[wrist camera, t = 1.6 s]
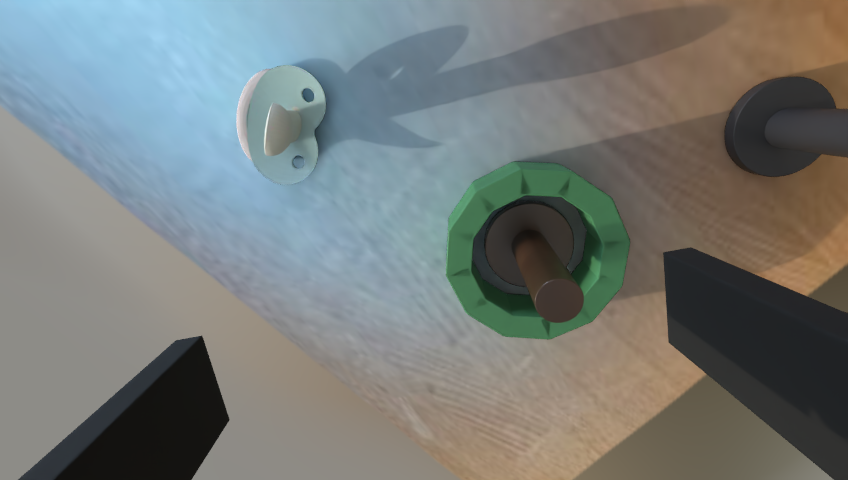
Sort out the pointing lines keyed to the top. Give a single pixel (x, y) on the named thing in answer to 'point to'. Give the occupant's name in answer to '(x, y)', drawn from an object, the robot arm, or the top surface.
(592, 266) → the ring
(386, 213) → the top surface
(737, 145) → the charcoal peg
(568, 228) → the walnut peg
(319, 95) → the pacifier
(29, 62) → the top surface
